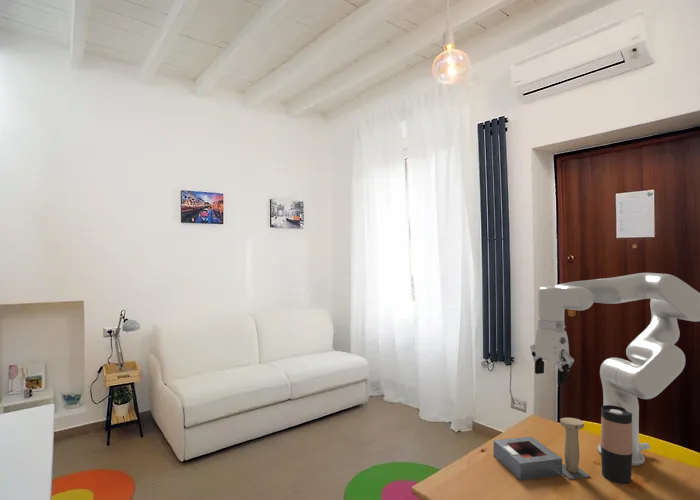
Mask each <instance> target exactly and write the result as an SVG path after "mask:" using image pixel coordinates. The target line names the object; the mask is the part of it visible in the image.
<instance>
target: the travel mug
mask: <svg viewBox="0 0 700 500" xmlns="http://www.w3.org/2000/svg"><path fill="white" fill-rule="evenodd" d="M600 411H601V415H600V416H601V417H600V419H601V420H600V423H601V424H600V427H601V428H600V444H601V454H600V457H601V458H600V459H601V475H602V476H603V477H604V478H605V480H608V481H609V482H612V483H614V484H618V485H629V484H631V483H632V467H633V465H632V413H629V412H627V411H626V409H624V408H622V407H618V406H612V405H605V406H603V405H602V406H601V410H600Z"/></svg>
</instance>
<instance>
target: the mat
mask: <svg viewBox="0 0 700 500" xmlns="http://www.w3.org/2000/svg"><path fill="white" fill-rule="evenodd" d="M565 465H566V464H565V463H562V476H564V477H565V478H567V479H568V480H571V481H575V480H580V479H588V478H591V475H590V474H588V473H587V472H586V471H585V470H583V469H581V468H580V467H579V466H578V472H576V473H573V472H569V471H568V470H567V469H566V467H565Z"/></svg>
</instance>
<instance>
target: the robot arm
mask: <svg viewBox="0 0 700 500" xmlns="http://www.w3.org/2000/svg"><path fill="white" fill-rule="evenodd" d="M537 293H538V295H537V296H538V297H537V300H538V302H537V328H536V333H535V342H534V344H531V345H530V347H529V348H530V351H531V355H532V357H533V361H534V374H536V375H540V374H542V375H543V374H545V361H547V362H551V363H553V364H556V366H557V368H558V370H557V384H559V385H563V384H568V382H569V381H568V372H569V371H571V370H570V369H572V368H573V365H574V362H575V359H574V358H573V357H572V356H571V355H570V347H569V346H570V345H569V338H568V334H567V330H565V328H566V325H565V311H566V310H572V311H586V310H588V309H590V308H591V306H593V304H594V303H597V304H598V303H599V304H606V305H607V304H609V305H610V304H622V303H623V304H624V303H628V302H633V301H634V302H635V301H639V300H645V299H646V300H648V299H650V301H649V306H650V313H651V314H650V315H651V317H650V318H651V319H650V323H649V324H648V325H647V327H645V329H643V331H641V333H639V334H638V335H637V336H636V337H635V338H634V339H633V340H632V341H631V342H630V343H629V344H628V345H627V347H626V350H625V353H626V357H627V358H628V360H626V359H624V358H620V357H609V358H606V359H605V360H603V362H602V363H601V364H600V367H599V368H600V369H599V377H600V380H601V385H602V386H601V387H602V393H603V394H602V395H603V396H602V397H603V401H602V402H603V405H602V406H605V405H612V406H618V407H622V408H624V409H626V411H627V412H629V413H632V467H634V466H641V465H644V463H645V461H646V460H645V456H644V455H643V454H642V452H643V450H644V451H646V450H650V449H651V446H650V443H648V442H641V443H640V437H639V436H640V435H639V434H640V431H639V426H640V425H639V422H640V421H639V419H640V418H639V417H640V413H639V412H640V405H639V399H638V398H640V399H642V400H651V399H653V398H655V397H657V396H658V395H660V394H661V393H662V392H663V391H664V390H665V389H666V388H667V387H668V386H669V385H670V384H671V383H672V382H673V381H674V380H675V379H676V378H678V376H680V374H681V373H682V372H683V371H684V368H685V366H686V355H685V353H684V352H683V350H682V349H681V348H679V347H678V346H677V345H675V344H677V342H678V341H679V339H680V334H681V333H680V332H681V331H680V328H679V323H678V320H684V321H689V322H700V292H699V291H698V290H696V289H695V288H693V287H692V286H690V285H689V284H688V283H687V282H685V281H683V280H682V279H680V278H679V277H677V276H675V275H672V274H669V273H660V272H659V273H657V272H638V273H632V274H627V275H621V276H620V275H619V276H615V277H614V276H613V277H607V278H606V277H605V278H597V279H587V280H578V281H577V280H575V281H569V282H564V283H559V284H557V285H554V286H551V285H546V286H545V285H544V286H541V287H539V289H538V290H537ZM544 360H545V361H544ZM597 452H598V453H599V454H600V455H601V443H599V444H598V445H597Z"/></svg>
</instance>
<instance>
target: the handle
mask: <svg viewBox="0 0 700 500" xmlns="http://www.w3.org/2000/svg"><path fill="white" fill-rule="evenodd" d="M559 424H560V425H561V427H563V428H564V430H565V434H564V448H563V450H564V451H563V452H564V464H566V465H565V467H566V469H567V470H568V471H569V472H573V473H576V472H578V467H579V465H580V464H579V463H580V444H579V430H581V429H583V428H585V423H584V421H583V420H581V419H579V418H574V417H562V418H560V419H559Z"/></svg>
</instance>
